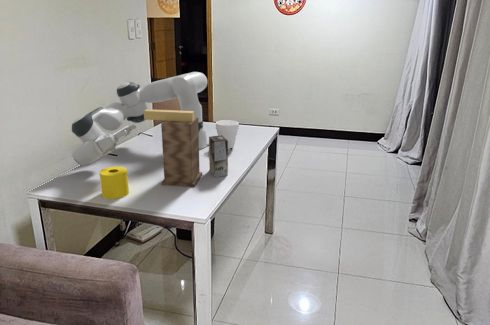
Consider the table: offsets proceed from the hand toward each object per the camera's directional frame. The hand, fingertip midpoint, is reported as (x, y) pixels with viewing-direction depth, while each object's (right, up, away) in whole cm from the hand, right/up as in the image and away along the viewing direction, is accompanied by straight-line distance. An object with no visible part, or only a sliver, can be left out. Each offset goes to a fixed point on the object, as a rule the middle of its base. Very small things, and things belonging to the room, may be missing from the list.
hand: (130, 128), depth 167 cm
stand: (+21, -21, +5) cm, 30 cm away
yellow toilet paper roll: (-3, -26, -10) cm, 28 cm away
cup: (+38, -6, +49) cm, 63 cm away
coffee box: (+36, -19, +13) cm, 42 cm away
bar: (+17, +3, -3) cm, 17 cm away
